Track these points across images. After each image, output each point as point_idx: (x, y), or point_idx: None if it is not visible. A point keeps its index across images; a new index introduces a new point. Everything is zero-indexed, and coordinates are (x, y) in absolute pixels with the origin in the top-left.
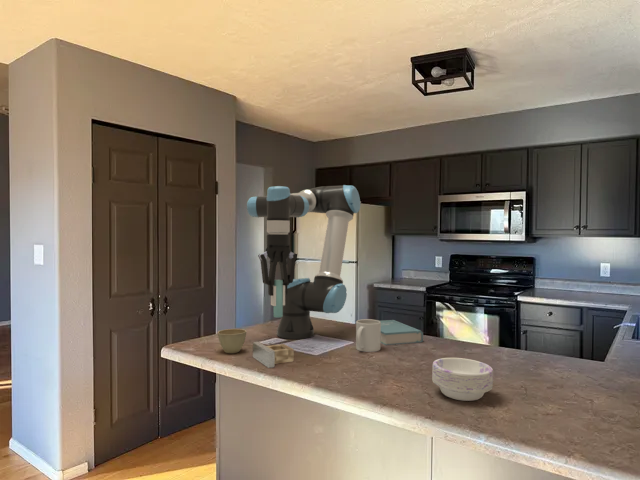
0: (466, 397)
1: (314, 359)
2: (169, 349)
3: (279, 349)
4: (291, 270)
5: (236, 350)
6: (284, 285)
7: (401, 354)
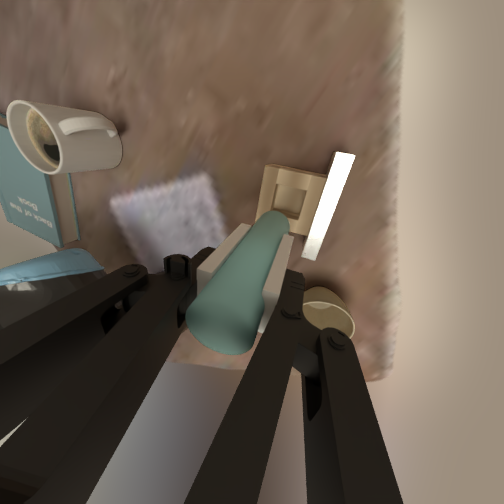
0: None
1: (226, 146)
2: (390, 372)
3: (293, 186)
4: (29, 340)
5: (322, 287)
6: (199, 272)
7: (53, 50)
